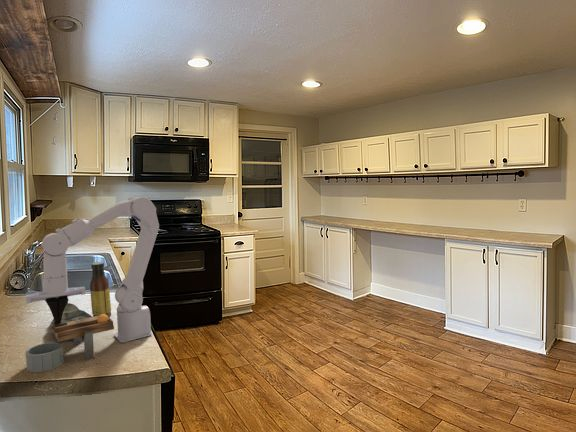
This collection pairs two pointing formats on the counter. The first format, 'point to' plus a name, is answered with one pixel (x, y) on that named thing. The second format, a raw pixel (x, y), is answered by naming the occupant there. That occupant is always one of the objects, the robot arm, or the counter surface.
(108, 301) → the sauce bottle
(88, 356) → the lever stand
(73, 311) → the detergent
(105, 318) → the ball
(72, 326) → the lever
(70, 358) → the counter surface
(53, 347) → the cup
